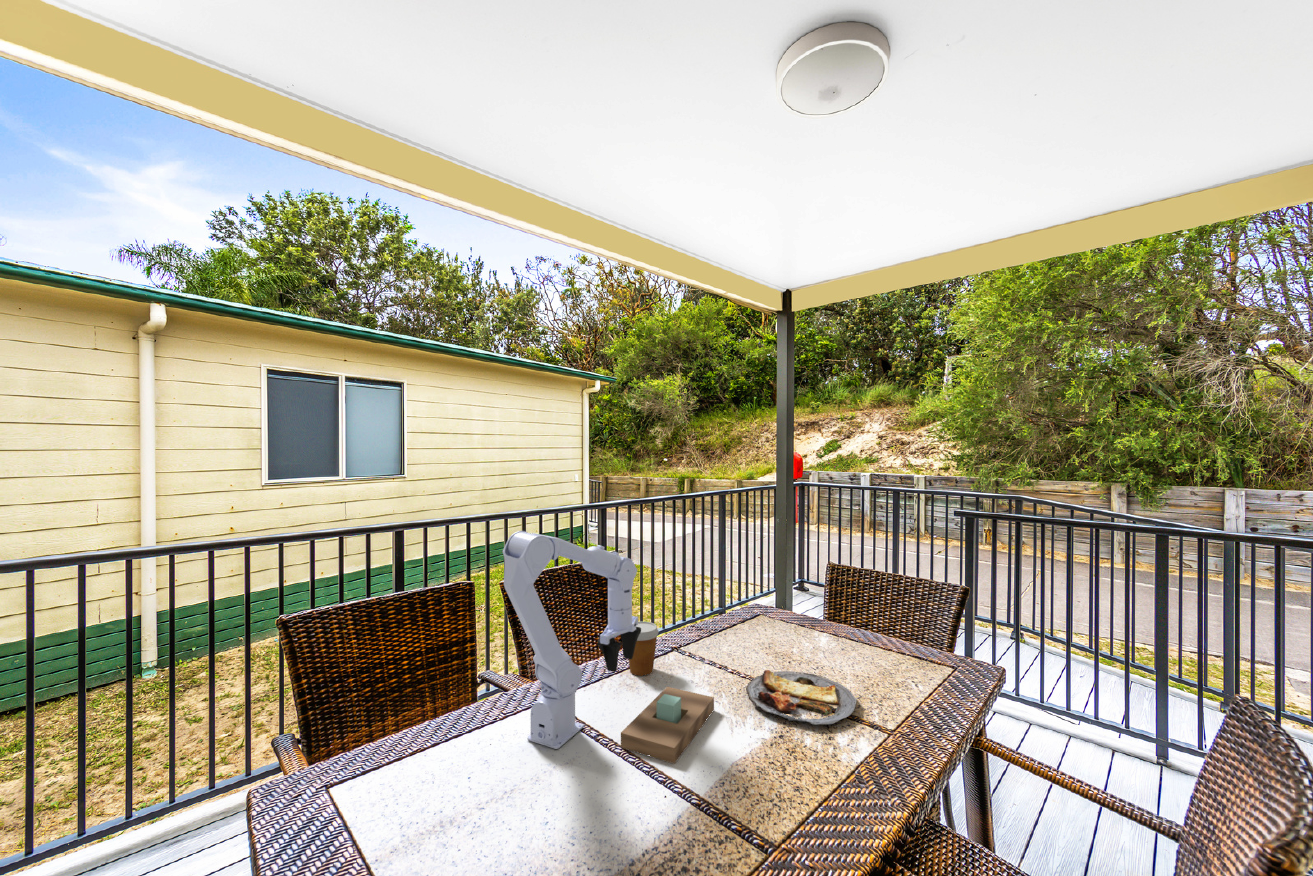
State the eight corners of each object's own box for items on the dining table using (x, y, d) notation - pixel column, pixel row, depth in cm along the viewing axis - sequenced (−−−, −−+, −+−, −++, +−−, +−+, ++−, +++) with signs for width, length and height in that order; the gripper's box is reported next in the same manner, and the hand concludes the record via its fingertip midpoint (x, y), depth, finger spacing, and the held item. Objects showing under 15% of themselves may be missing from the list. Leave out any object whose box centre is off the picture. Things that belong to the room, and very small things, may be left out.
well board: (674, 763, 96) (674, 748, 96) (620, 747, 102) (620, 732, 102) (714, 710, 116) (713, 697, 116) (667, 699, 121) (667, 686, 121)
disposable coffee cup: (644, 682, 130) (644, 635, 131) (616, 672, 136) (616, 628, 136) (665, 669, 138) (665, 625, 138) (639, 660, 144) (638, 618, 144)
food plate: (733, 711, 116) (733, 695, 116) (761, 672, 136) (762, 659, 136) (848, 743, 104) (849, 725, 104) (860, 695, 125) (860, 680, 125)
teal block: (673, 734, 106) (673, 706, 106) (656, 730, 108) (656, 702, 108) (681, 725, 110) (681, 697, 110) (664, 721, 112) (664, 694, 112)
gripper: (618, 618, 111) (619, 680, 111) (648, 600, 124) (649, 656, 124) (592, 614, 115) (592, 674, 114) (624, 597, 128) (624, 651, 127)
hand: (620, 664), depth 119 cm, fingers open, 7 cm apart
